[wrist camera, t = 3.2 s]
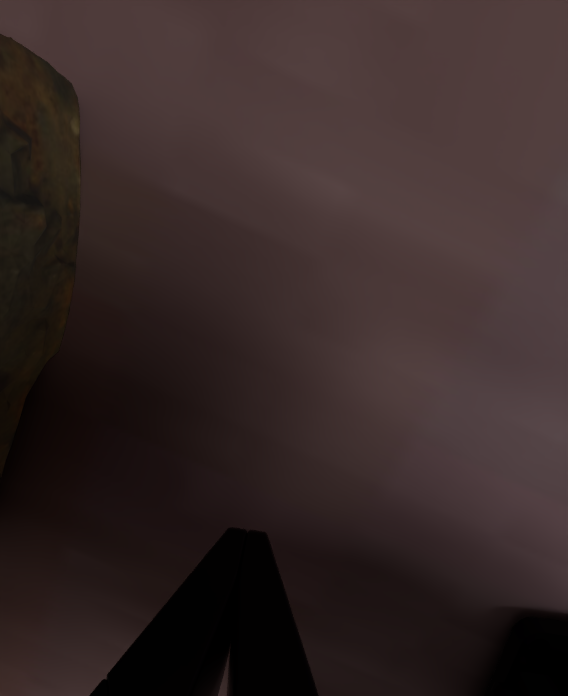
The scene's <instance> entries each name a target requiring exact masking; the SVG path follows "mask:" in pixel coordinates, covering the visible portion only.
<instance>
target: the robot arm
mask: <svg viewBox="0 0 568 696" xmlns="http://www.w3.org/2000/svg"><path fill="white" fill-rule="evenodd" d="M230 644H231V648H230ZM229 650H230V658H229V670H228V685H227V696H319V695H318V692H317V689H316V686H315V683H314V680H313V676H312V673H311V670H310V667H309V664H308V661H307V658H306V654H305V651H304V648H303V645H302V642H301V639H300V636H299V632H298V629H297V626H296V623H295V620H294V617H293V614H292V611H291V607H290V604H289V601H288V598H287V595H286V592H285V589H284V585H283V582H282V579H281V576H280V573H279V570H278V567H277V563H276V560H275V557H274V554H273V551H272V548H271V545H270V541H269V538H268V535H267V534H266V533H265V532H262V531H255V530H249V531H248V533H247V531H246V530H245V529H240V528H233V527H230V528H228V529H227V530H226V531H225V533H224V534H223V535H222V536H221V538H220V539H219V540H218V541H217V542H216V544H215V545H214V546H213V547H212V548H211V550H210V551H209V552H208V553H207V554H206V556H205V557H204V558H203V559H202V560H201V562H200V563H199V564H198V565H197V567H196V568H195V569H194V570H193V571H192V573H191V574H190V575H189V576H188V577H187V579H186V580H185V581H184V582H183V583H182V585H181V586H180V587H179V588H178V589H177V591H176V592H175V593H174V594H173V596H172V597H171V598H170V599H169V600H168V602H167V603H166V604H165V605H164V606H163V608H162V609H161V610H160V611H159V612H158V614H157V615H156V616H155V617H154V618H153V620H152V621H151V622H150V623H149V624H148V626H147V627H146V628H145V629H144V631H143V632H142V633H141V634H140V635H139V637H138V638H137V639H136V640H135V641H134V643H133V644H132V645H131V646H130V647H129V649H128V650H127V651H126V652H125V653H124V655H123V656H122V657H121V658H120V660H119V661H118V662H117V663H116V664H115V666H114V667H113V668H112V669H111V670H110V672H109V673H108V674H107V680H106V679H103V680H102V681H101V682H100V683H99V685H98V686H97V687H96V688H95V689H94V691H93V692H92V693H91V694H90V695H89V696H218V693H219V689H220V685H221V682H222V678H223V674H224V670H225V667H226V662H227V658H228V654H229ZM485 696H568V622H564V621H557V620H550V619H542V618H526V619H522V620H520V621H519V622H517V623H516V624H515V626H514V627H513V629H512V631H511V633H510V636H509V638H508V640H507V643H506V645H505V648H504V650H503V652H502V655H501V657H500V660H499V662H498V664H497V667H496V669H495V672H494V674H493V676H492V679H491V681H490V684H489V686H488V688H487V691H486V693H485Z"/></svg>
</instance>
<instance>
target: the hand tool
mask: <svg viewBox="0 0 568 696" xmlns="http://www.w3.org/2000/svg"><path fill="white" fill-rule="evenodd" d="M79 135H80V114H79V104H78V98H77V95H76V93H75V90H74V88H73V85H72V83H70V82H69V81H68V80H67V79H66V78H65V77H64V76H62V75H61V74H59V73H58V72H57V71H56V70H55V69H54V68H53V67H52V66H51V65H50V64H49V63H48V62H46V61H45V60H43V59H42V58H40V57H39V56H37V55H36V54H34V53H33V52H31V51H30V50H29V49H27V48H26V47H24V46H22V45H21V44H19V43H18V42H16V41H14V40H13V39H12V38H8V37H6V36H4V35H1V34H0V479H1V476H2V473H3V469H4V465H5V462H6V458H7V456H8V453H9V450H10V448H11V445H12V442H13V439H14V436H15V433H16V429H17V426H18V423H19V420H20V416H21V413H22V409H23V406H24V402H25V399H26V396H27V394H28V393H29V391H30V389H31V388H32V386H33V384H34V383H35V381H36V379H37V377H38V376H39V374H40V372H41V371H42V369H43V367H44V366H45V364H46V363H47V361H48V360H49V359H50V358H52V357H53V356H54V355H55V354H56V353H58V351H59V348H60V345H61V342H62V338H63V334H64V330H65V326H66V322H67V318H68V314H69V309H70V303H71V297H72V291H73V286H74V280H75V268H76V254H77V244H78V232H79V217H80V173H81V161H80V139H79Z"/></svg>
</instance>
